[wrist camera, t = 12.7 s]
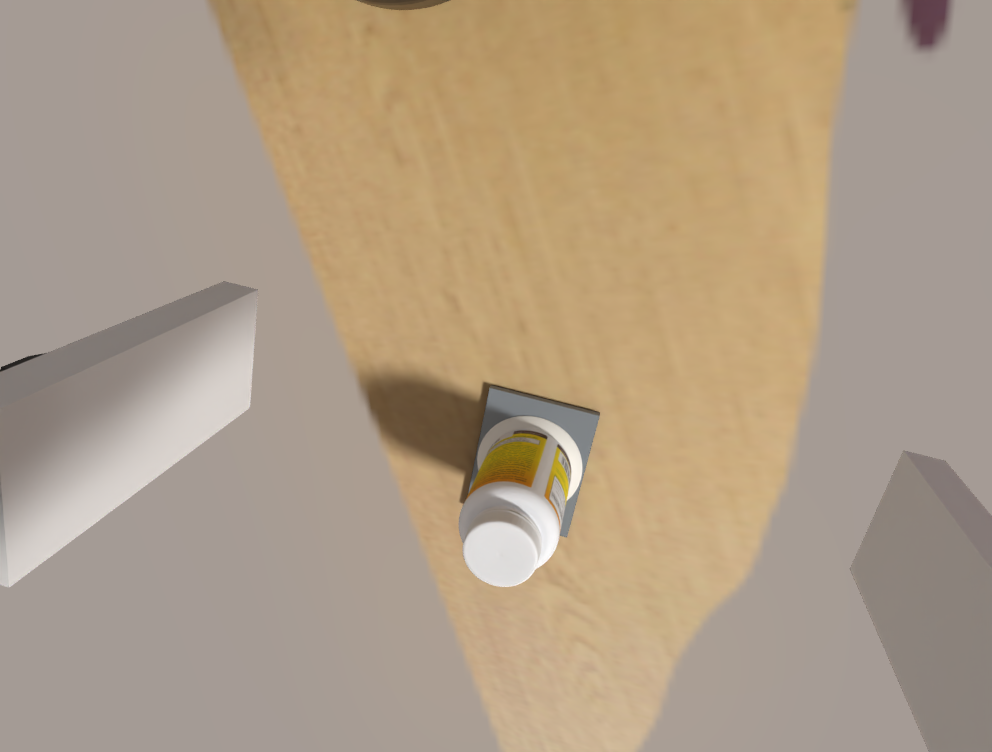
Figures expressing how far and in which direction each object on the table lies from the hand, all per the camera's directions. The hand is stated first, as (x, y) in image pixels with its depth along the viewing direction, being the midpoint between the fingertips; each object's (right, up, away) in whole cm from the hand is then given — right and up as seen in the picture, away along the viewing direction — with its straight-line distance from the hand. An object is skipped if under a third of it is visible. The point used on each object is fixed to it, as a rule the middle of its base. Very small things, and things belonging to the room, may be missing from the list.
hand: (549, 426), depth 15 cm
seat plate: (+1, -5, +33) cm, 33 cm away
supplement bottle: (+1, -5, +32) cm, 33 cm away
